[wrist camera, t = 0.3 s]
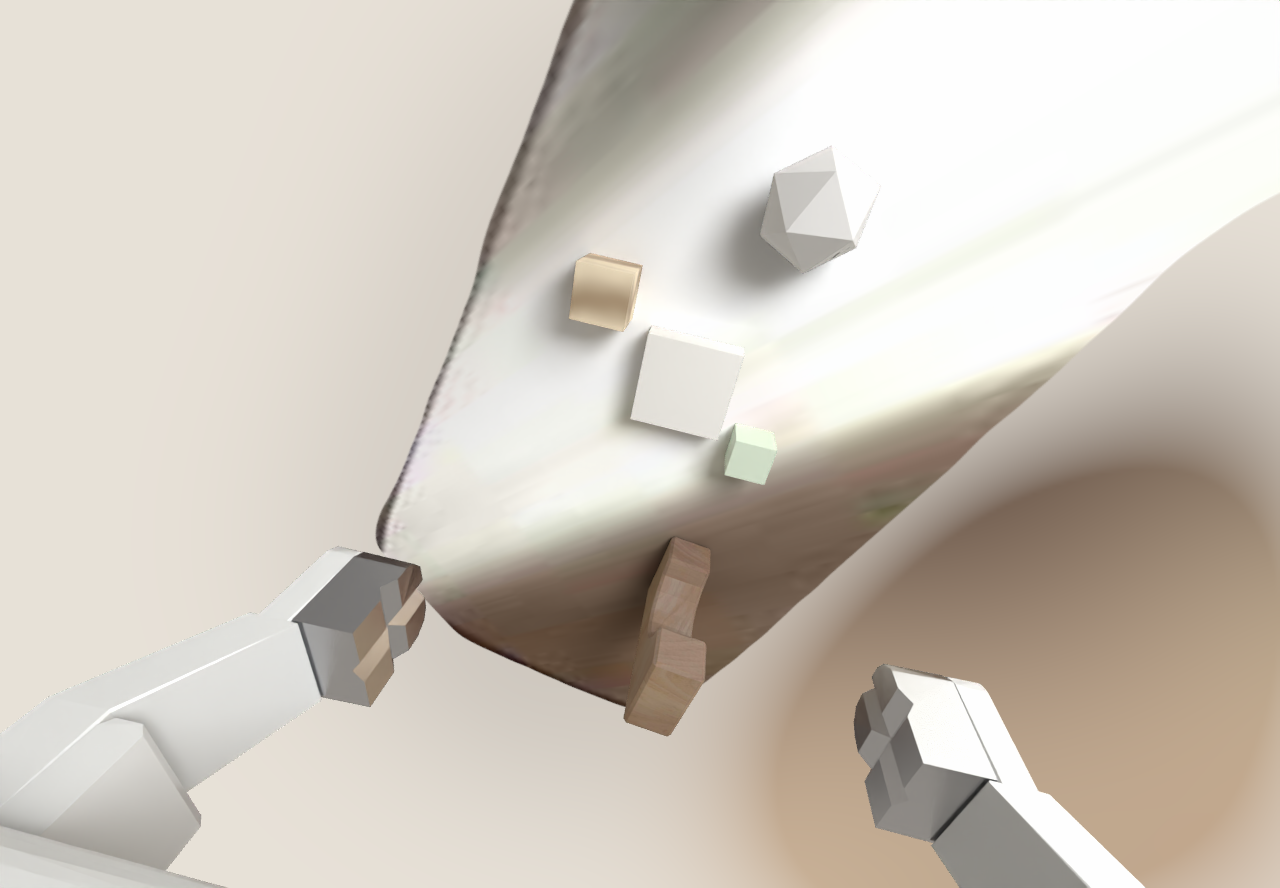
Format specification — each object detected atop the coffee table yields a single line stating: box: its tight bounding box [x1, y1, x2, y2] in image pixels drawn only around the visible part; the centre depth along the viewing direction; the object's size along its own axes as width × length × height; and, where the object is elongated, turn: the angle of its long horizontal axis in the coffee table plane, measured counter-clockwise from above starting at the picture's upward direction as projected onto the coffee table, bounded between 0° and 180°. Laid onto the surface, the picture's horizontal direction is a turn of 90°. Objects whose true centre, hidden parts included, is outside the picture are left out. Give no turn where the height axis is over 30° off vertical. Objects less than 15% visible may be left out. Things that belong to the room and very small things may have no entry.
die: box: [760, 146, 881, 274], centre depth 42 cm, size 8×9×10 cm
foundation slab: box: [630, 326, 744, 441], centre depth 54 cm, size 10×10×3 cm
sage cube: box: [725, 423, 777, 485], centre depth 56 cm, size 4×4×4 cm
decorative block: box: [624, 537, 711, 736], centre depth 60 cm, size 11×6×20 cm, turn 161°
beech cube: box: [569, 253, 643, 332], centre depth 49 cm, size 6×6×6 cm
